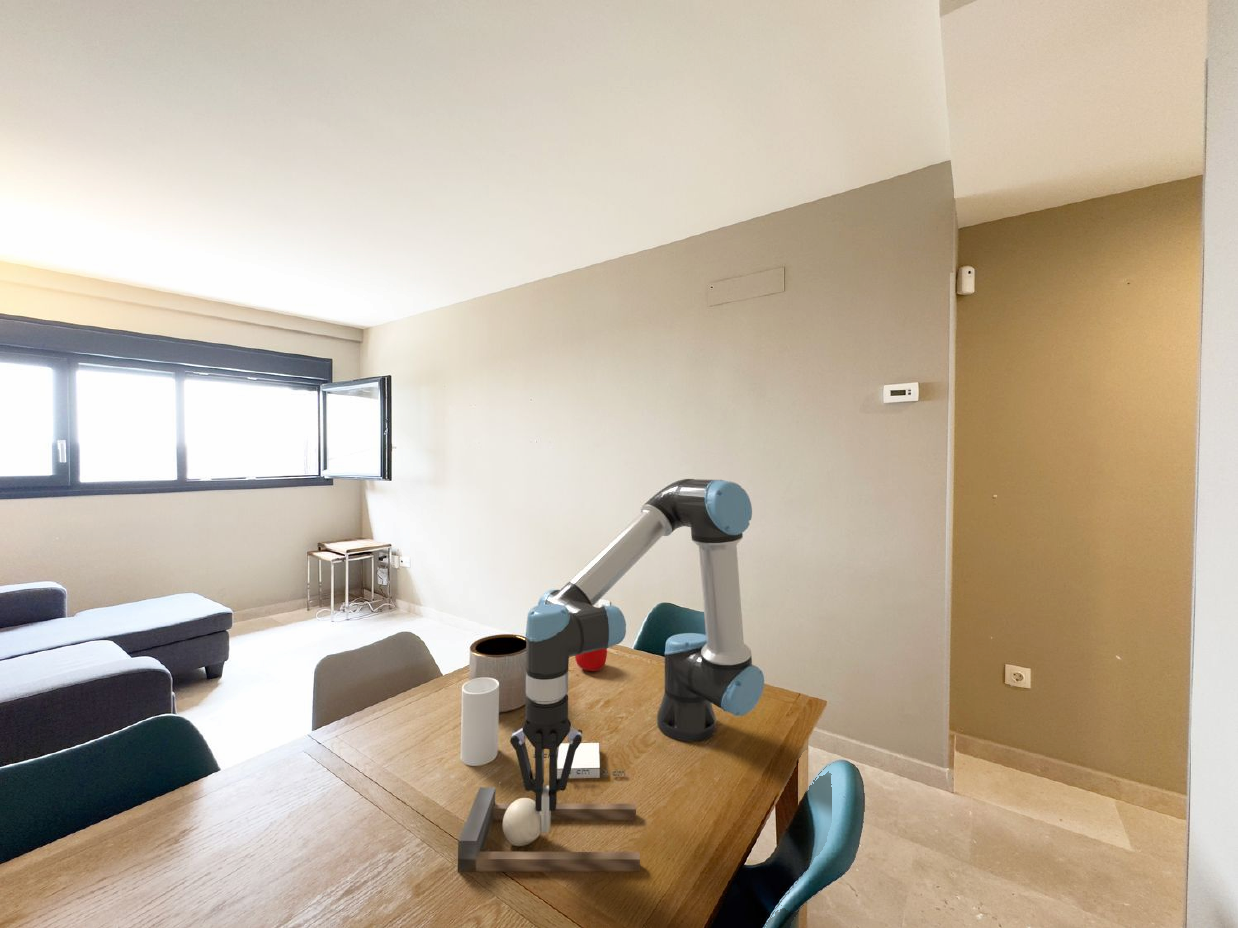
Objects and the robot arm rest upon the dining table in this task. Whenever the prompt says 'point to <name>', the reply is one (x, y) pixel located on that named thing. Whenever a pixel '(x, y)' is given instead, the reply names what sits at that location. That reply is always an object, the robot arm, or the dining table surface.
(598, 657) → the tomato
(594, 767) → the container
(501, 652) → the planter
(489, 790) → the channel
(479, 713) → the cup
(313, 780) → the dining table surface
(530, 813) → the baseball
